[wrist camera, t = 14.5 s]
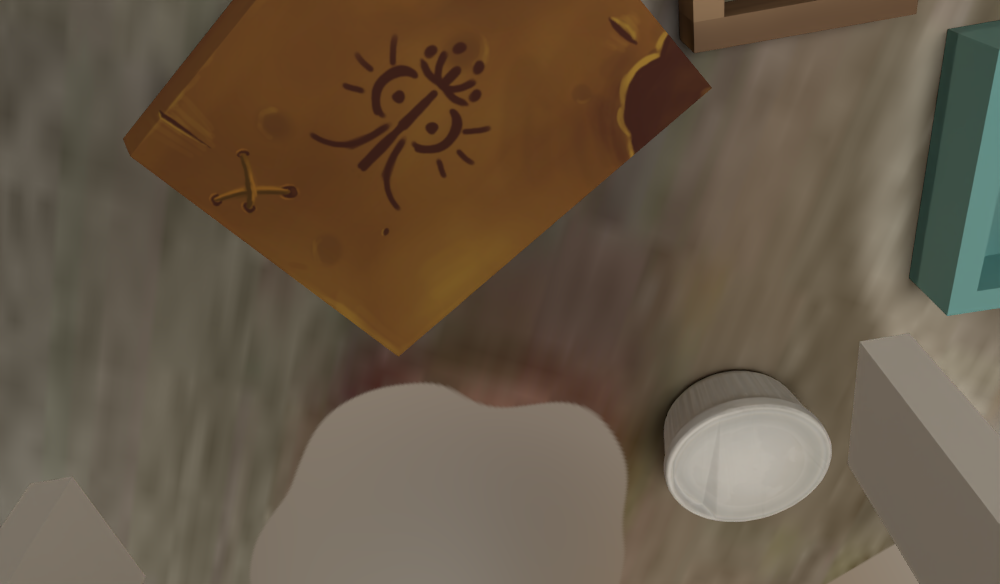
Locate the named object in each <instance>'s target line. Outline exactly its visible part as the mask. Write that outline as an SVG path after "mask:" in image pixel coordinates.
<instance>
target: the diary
mask: <svg viewBox="0 0 1000 584" xmlns="http://www.w3.org/2000/svg"><path fill="white" fill-rule="evenodd" d="M711 88H712V87H711V86H710V85H709V84H708V83H707V81H706V80H705V79H704V78H703V76H702V75H701V74H700V73H699V72H698V70H697V69H696V68H695V67H694V65H693V64H692V63H691V62H690V61H689V59H688V58H687V57H686V56H685V54H684V53H683V52H682V51H681V49H680V48H679V47H678V46H677V45H676V43H675V42H674V41H673V40H672V38H671V37H670V36H669V35H668V34H667V32H666V31H665V30H664V29H663V27H662V26H661V25H660V24H659V23H658V21H657V20H656V19H655V18H654V16H653V15H652V14H651V13H650V12H649V10H648V9H647V8H646V7H645V5H644V4H643V3H642V2H641V0H233V1H232V2H231V3H230V4H229V6H228V7H227V8H226V9H225V11H224V12H223V13H222V14H221V16H220V17H219V18H218V20H217V21H216V22H215V23H214V25H213V26H212V27H211V28H210V30H209V31H208V32H207V33H206V35H205V36H204V37H203V38H202V40H201V41H200V42H199V44H198V45H197V46H196V47H195V49H194V50H193V51H192V52H191V54H190V55H189V56H188V57H187V59H186V60H185V61H184V62H183V64H182V65H181V66H180V67H179V69H178V70H177V71H176V73H175V74H174V75H173V76H172V78H171V79H170V80H169V81H168V83H167V84H166V85H165V86H164V88H163V89H162V90H161V91H160V93H159V94H158V95H157V97H156V98H155V99H154V100H153V102H152V103H151V104H150V105H149V107H148V108H147V109H146V110H145V112H144V113H143V114H142V115H141V117H140V118H139V119H138V120H137V122H136V123H135V124H134V126H133V127H132V128H131V129H130V131H129V132H128V133H127V134H126V136H125V137H124V138H123V140H124V142H125V145H126V147H127V150H128V152H129V154H130V156H131V157H132V158H133V159H135V160H136V161H137V162H139V163H140V164H142V165H143V166H144V167H146V168H147V169H148V170H150V171H151V172H152V173H154V174H155V175H156V176H158V177H159V178H160V179H162V180H163V181H164V182H166V183H167V184H168V185H170V186H171V187H172V188H174V189H175V190H176V191H178V192H179V193H180V194H182V195H183V196H184V197H186V198H187V199H188V200H190V201H191V202H192V203H194V204H195V205H196V206H198V207H199V208H200V209H202V210H203V211H204V212H206V213H207V214H208V215H210V216H211V217H212V218H214V219H215V220H216V221H218V222H219V223H220V224H222V225H223V226H224V227H226V228H227V229H228V230H230V231H231V232H232V233H234V234H235V235H237V236H238V237H239V238H241V239H242V240H243V241H245V242H246V243H247V244H249V245H250V246H251V247H253V248H254V249H255V250H257V251H258V252H259V253H261V254H262V255H263V256H265V257H266V258H267V259H269V260H270V261H271V262H273V263H274V264H275V265H277V266H278V267H279V268H281V269H282V270H283V271H285V272H286V273H287V274H289V275H290V276H291V277H293V278H294V279H295V280H297V281H298V282H299V283H301V284H302V285H303V286H305V287H306V288H307V289H309V290H310V291H311V292H313V293H314V294H315V295H317V296H318V297H319V298H321V299H322V300H323V301H325V302H326V303H327V304H329V305H330V306H332V307H333V308H334V309H336V310H337V311H338V312H340V313H341V314H342V315H344V316H345V317H346V318H348V319H349V320H350V321H352V322H353V323H354V324H356V325H357V326H358V327H360V328H361V329H362V330H364V331H365V332H366V333H368V334H369V335H370V336H372V337H373V338H374V339H376V340H377V341H378V342H380V343H381V344H382V345H384V346H385V347H386V348H388V349H389V350H390V351H392V352H393V353H394V354H396V355H397V356H400V355H401V354H402V353H403V352H404V351H405V350H407V349H408V348H409V347H410V346H411V345H412V344H414V343H415V342H416V341H417V340H418V339H419V338H421V337H422V336H423V335H424V334H425V333H426V332H428V331H429V330H430V329H431V328H432V327H433V326H435V325H436V324H437V323H438V322H439V321H440V320H442V319H443V318H444V317H445V316H446V315H447V314H449V313H450V312H451V311H452V310H453V309H454V308H456V307H457V306H458V305H459V304H460V303H461V302H463V301H464V300H465V299H466V298H467V297H468V296H470V295H471V294H472V293H473V292H474V291H475V290H477V289H478V288H479V287H480V286H481V285H482V284H484V283H485V282H486V281H487V280H488V279H489V278H491V277H492V276H493V275H494V274H495V273H496V272H498V271H499V270H500V269H501V268H502V267H503V266H505V265H506V264H507V263H508V262H509V261H510V260H512V259H513V258H514V257H515V256H516V255H517V254H519V253H520V252H521V251H522V250H523V249H524V248H526V247H527V246H528V245H529V244H530V243H531V242H533V241H534V240H535V239H536V238H537V237H538V236H540V235H541V234H542V233H543V232H544V231H545V230H547V229H548V228H549V227H550V226H551V225H552V224H554V223H555V222H556V221H557V220H558V219H559V218H561V217H562V216H563V215H564V214H565V213H566V212H568V211H569V210H570V209H571V208H572V207H573V206H575V205H576V204H577V203H578V202H579V201H580V200H582V199H583V198H584V197H585V196H586V195H587V194H589V193H590V192H591V191H592V190H593V189H594V188H596V187H597V186H598V185H599V184H600V183H601V182H603V181H604V180H605V179H606V178H607V177H608V176H610V175H611V174H612V173H613V172H614V171H615V170H617V169H618V168H619V167H620V166H621V165H622V164H624V163H625V162H626V161H627V160H628V159H629V158H631V157H632V156H633V155H634V154H635V153H636V152H638V151H639V150H640V149H641V148H642V147H643V146H645V145H646V144H647V143H648V142H649V141H650V140H652V139H653V138H654V137H655V136H656V135H657V134H659V133H660V132H661V131H662V130H663V129H664V128H666V127H667V126H668V125H669V124H670V123H671V122H673V121H674V120H675V119H676V118H677V117H678V116H680V115H681V114H682V113H683V112H684V111H685V110H687V109H688V108H689V107H690V106H691V105H692V104H694V103H695V102H696V101H697V100H698V99H699V98H701V97H702V96H703V95H704V94H705V93H706V92H708V91H709V90H710V89H711Z"/></svg>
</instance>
